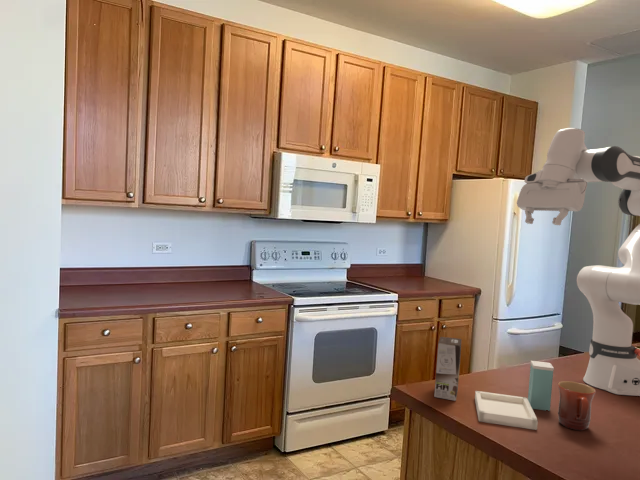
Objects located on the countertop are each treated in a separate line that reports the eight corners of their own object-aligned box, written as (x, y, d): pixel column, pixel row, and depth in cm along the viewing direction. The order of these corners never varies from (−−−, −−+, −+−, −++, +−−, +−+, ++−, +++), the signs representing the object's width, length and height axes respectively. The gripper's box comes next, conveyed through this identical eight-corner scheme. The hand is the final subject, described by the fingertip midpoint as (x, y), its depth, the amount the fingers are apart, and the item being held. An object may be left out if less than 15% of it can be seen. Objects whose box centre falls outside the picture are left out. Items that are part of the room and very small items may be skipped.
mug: (550, 416, 132) (553, 379, 131) (585, 421, 130) (589, 383, 130) (563, 436, 120) (567, 395, 120) (602, 441, 118) (606, 400, 118)
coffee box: (456, 401, 139) (460, 345, 138) (433, 397, 141) (437, 342, 140) (458, 390, 148) (462, 338, 147) (436, 387, 150) (440, 335, 149)
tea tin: (546, 404, 141) (549, 362, 140) (550, 411, 136) (554, 368, 135) (527, 401, 142) (530, 360, 141) (530, 408, 137) (533, 365, 136)
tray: (526, 406, 138) (527, 397, 138) (536, 430, 123) (537, 420, 123) (474, 399, 142) (475, 390, 141) (478, 421, 126) (479, 411, 126)
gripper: (595, 182, 135) (581, 229, 134) (534, 185, 153) (521, 226, 152) (581, 173, 132) (567, 221, 131) (521, 177, 151) (507, 218, 149)
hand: (541, 223), depth 142 cm, fingers open, 8 cm apart
